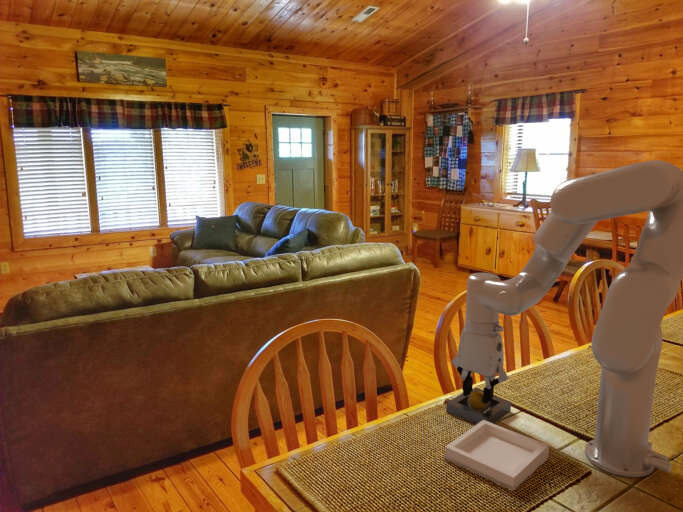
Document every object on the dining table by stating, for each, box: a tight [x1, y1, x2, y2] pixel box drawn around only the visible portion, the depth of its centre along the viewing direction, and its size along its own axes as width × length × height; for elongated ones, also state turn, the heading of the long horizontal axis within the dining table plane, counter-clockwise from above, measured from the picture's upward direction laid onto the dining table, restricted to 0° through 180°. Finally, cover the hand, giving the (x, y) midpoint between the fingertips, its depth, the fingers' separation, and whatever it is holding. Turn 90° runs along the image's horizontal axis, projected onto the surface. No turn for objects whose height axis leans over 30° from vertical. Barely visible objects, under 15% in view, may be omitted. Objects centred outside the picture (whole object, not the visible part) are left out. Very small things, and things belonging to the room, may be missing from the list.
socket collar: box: [445, 387, 512, 425], centre depth 129 cm, size 11×11×2 cm
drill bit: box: [467, 389, 491, 413], centre depth 129 cm, size 5×5×10 cm
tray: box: [444, 420, 550, 492], centre depth 110 cm, size 15×15×3 cm
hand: (477, 397), depth 129 cm, fingers closed on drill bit, 4 cm apart
